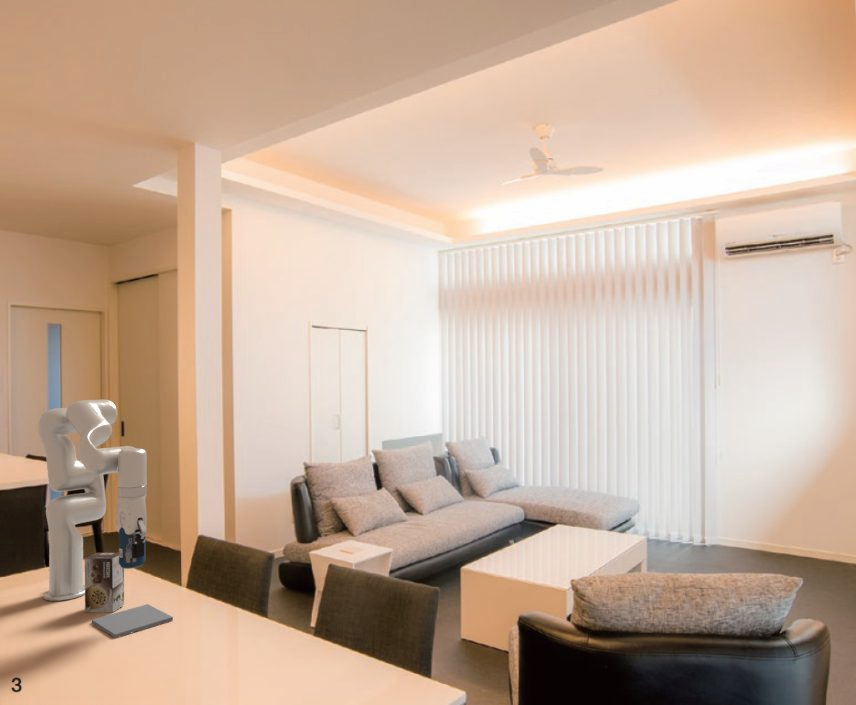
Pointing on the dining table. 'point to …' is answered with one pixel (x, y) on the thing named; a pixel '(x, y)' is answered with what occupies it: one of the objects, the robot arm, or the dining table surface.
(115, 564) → the coffee box
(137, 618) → the mat
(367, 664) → the dining table surface
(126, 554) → the soda can
